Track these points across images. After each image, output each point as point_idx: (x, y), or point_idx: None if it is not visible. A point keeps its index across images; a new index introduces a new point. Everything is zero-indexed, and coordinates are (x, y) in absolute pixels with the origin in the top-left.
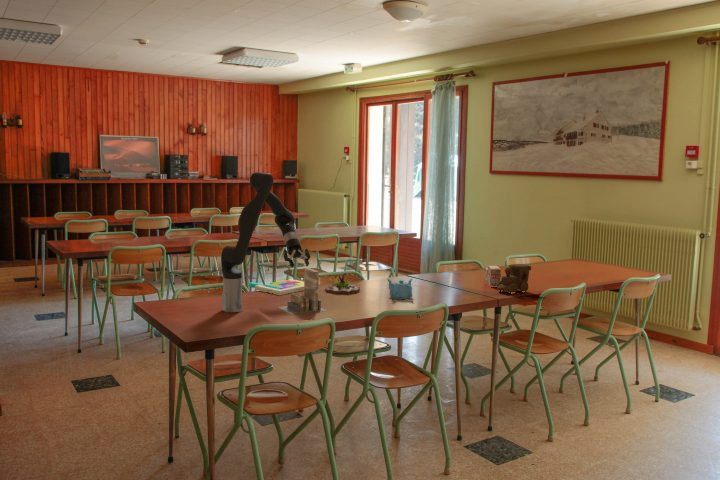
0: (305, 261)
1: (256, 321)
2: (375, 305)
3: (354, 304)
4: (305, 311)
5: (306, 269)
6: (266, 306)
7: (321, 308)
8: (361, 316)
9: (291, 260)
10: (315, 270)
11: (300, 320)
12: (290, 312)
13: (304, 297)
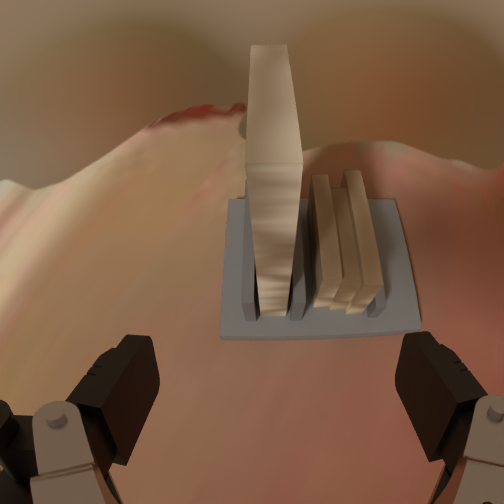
0: (126, 419)
1: (493, 201)
2: (12, 249)
3: (45, 293)
4: None
5: (298, 132)
6: None
7: (231, 231)
8: (148, 143)
9: (468, 384)
10: (253, 65)
11: (365, 158)
12: (389, 216)
13: (328, 195)
